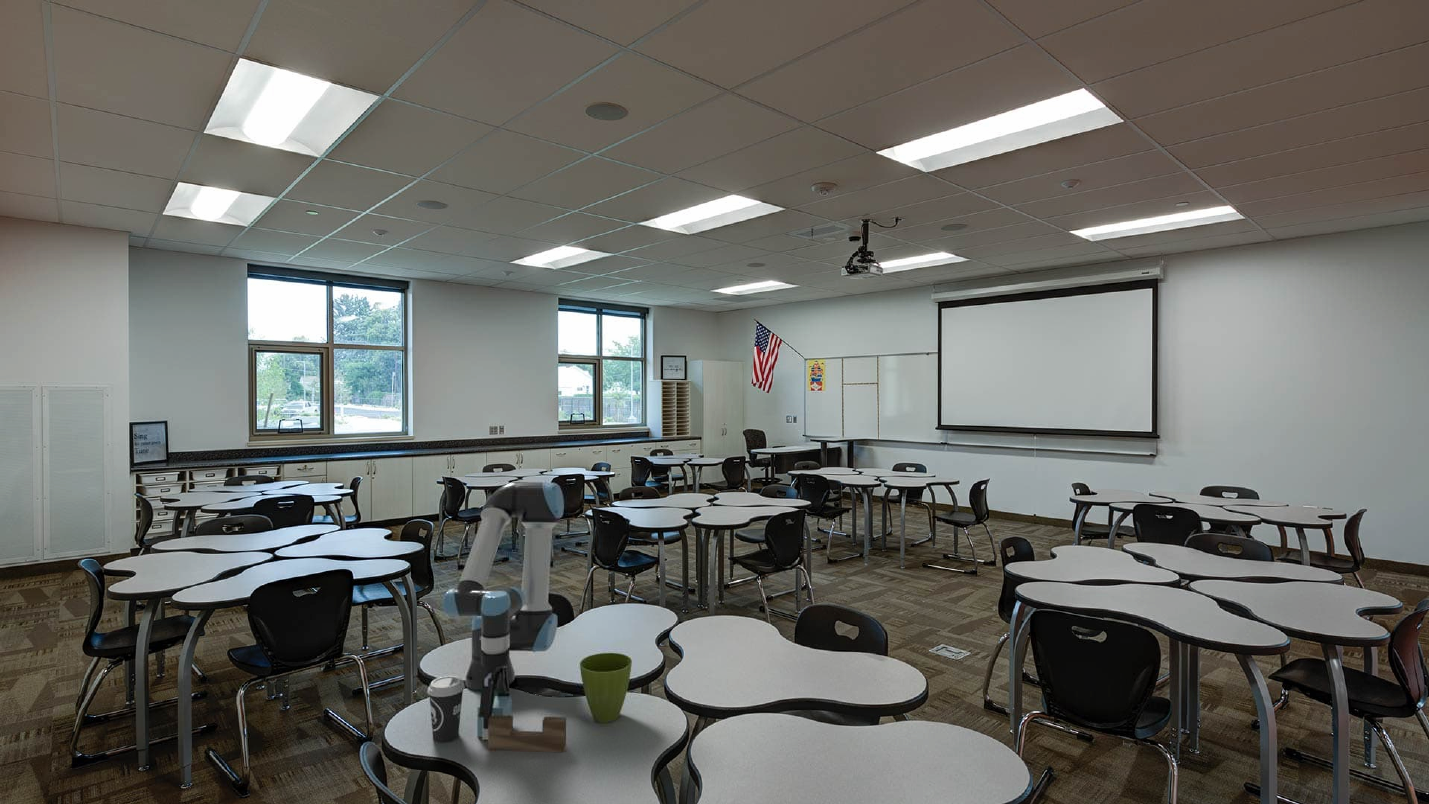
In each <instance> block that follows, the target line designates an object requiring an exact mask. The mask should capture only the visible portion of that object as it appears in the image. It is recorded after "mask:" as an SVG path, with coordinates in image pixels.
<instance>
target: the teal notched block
mask: <svg viewBox="0 0 1429 804" xmlns="http://www.w3.org/2000/svg"><path fill="white" fill-rule="evenodd" d="M512 699H513V698H512V696H509V697H499V696H497V695H495V699H494V705H493V711H492V715H505V716H512ZM479 711H480V704H479V705H478V706H477V715H476V716H477V719H476V720H477V727H476V728H477V730H476V731H477V733H476V735H477V737H478V738H479V737H481V738H482V721H483V717H479Z"/></svg>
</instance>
